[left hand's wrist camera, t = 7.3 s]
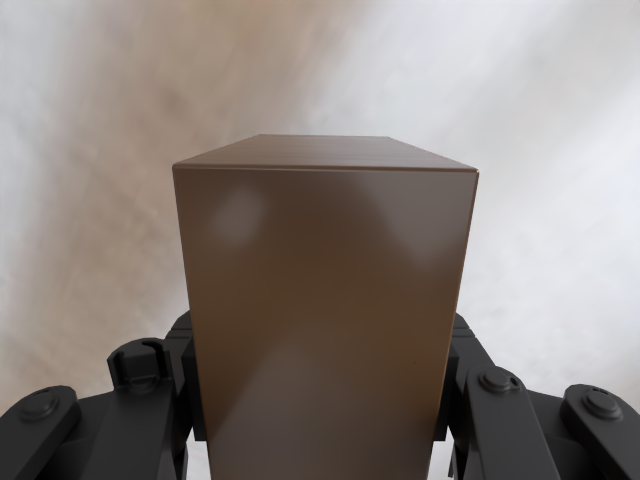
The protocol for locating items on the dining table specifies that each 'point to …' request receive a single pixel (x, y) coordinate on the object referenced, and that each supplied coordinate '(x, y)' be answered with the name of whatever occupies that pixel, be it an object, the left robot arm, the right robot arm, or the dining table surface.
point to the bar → (322, 301)
